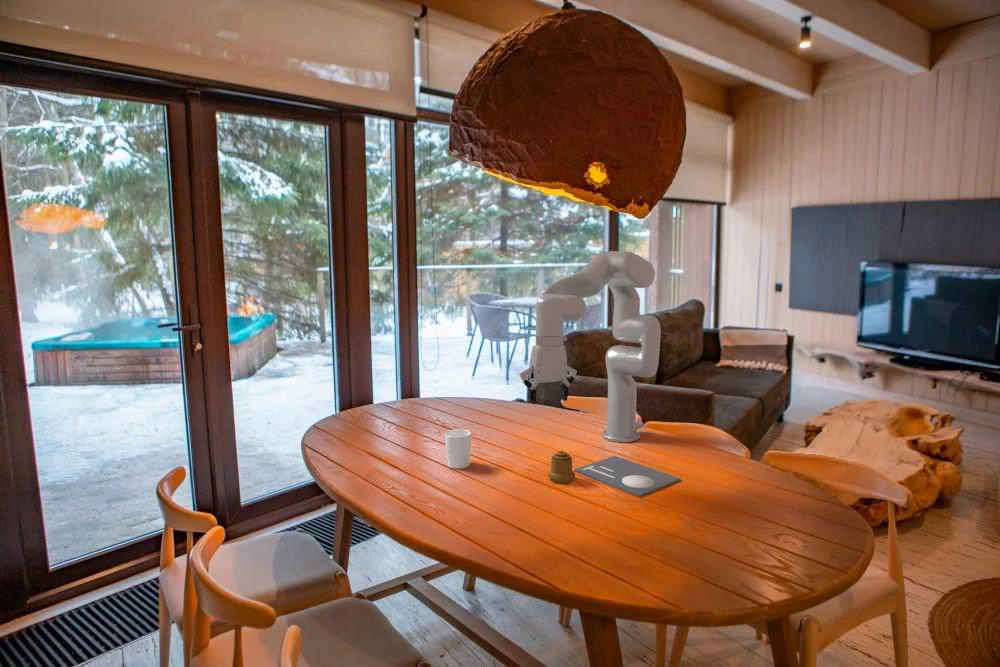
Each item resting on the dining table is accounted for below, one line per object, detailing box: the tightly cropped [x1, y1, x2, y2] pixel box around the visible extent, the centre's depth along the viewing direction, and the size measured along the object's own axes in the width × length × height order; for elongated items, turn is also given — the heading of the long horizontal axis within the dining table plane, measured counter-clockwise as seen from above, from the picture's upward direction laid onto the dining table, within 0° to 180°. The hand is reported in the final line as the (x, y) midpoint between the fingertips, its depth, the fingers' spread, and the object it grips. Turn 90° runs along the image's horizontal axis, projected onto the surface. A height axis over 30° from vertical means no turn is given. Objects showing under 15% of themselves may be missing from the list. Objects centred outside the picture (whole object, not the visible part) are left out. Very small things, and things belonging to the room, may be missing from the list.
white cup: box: [444, 428, 472, 470], centre depth 188 cm, size 8×8×10 cm
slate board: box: [573, 455, 681, 498], centre depth 179 cm, size 18×24×1 cm
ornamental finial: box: [548, 450, 576, 485], centre depth 177 cm, size 8×8×8 cm
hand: (548, 401), depth 176 cm, fingers open, 9 cm apart
